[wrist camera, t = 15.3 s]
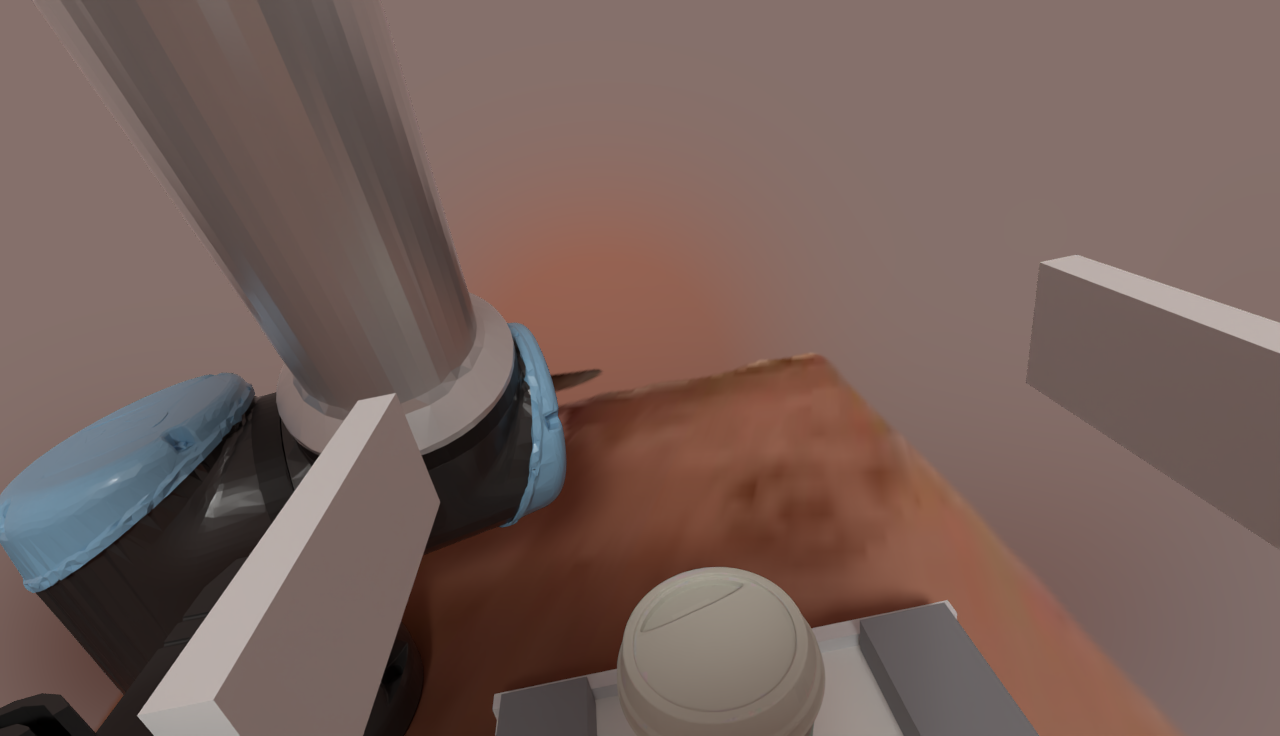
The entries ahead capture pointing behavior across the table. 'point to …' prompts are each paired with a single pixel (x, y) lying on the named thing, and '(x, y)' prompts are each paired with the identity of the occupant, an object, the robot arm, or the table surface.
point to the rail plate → (826, 686)
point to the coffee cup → (719, 659)
